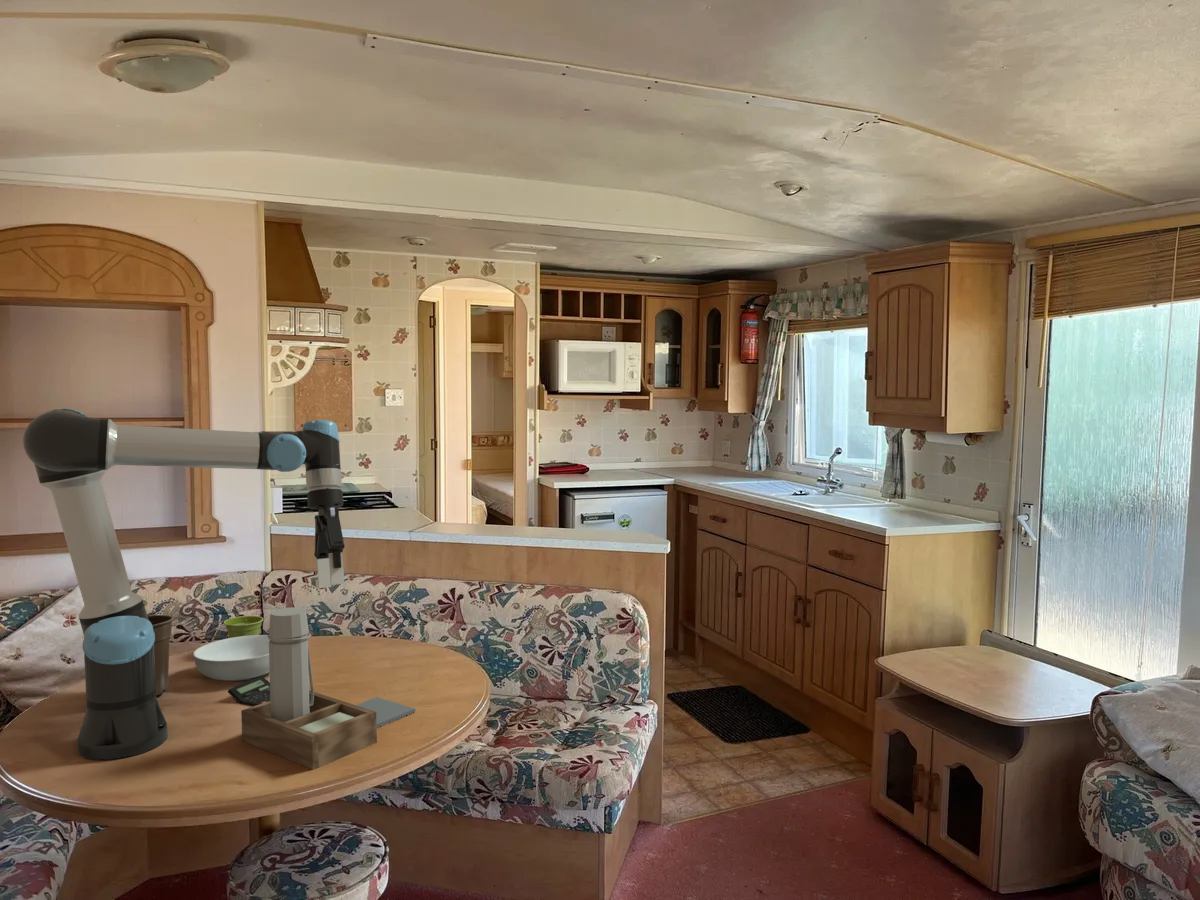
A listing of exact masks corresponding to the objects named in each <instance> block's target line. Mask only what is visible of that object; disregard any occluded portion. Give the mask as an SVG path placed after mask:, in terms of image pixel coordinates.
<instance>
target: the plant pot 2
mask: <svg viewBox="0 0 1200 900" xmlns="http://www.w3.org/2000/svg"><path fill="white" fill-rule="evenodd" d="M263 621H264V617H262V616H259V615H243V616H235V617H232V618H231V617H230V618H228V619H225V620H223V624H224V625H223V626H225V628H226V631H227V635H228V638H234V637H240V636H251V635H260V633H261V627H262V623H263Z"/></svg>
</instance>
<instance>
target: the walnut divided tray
mask: <svg viewBox="0 0 1200 900" xmlns="http://www.w3.org/2000/svg"><path fill="white" fill-rule="evenodd" d="M310 700H311V689H309V704H310ZM356 705H357V704H353V703H350V702H348V701H347V702H346V701H343V700H341V699H337V698H336V697H335V698H334V697H332V696H328V695H325V694H321V693H319V692H316V691H314V701H313V705H312V706H310V707H309V708H310V713H309V714H306V715H303V716H300V717H298V718H295V719H292V720H289V721H286V722H282V721H279V720H277V719H274V718H271V701H268V702H265V703H262V704H259V705H256V706H250V707H247V708H245V709H242V710H241V711H240V712H241V740H242V742H244V743H246V742H247V743H246V744H249V745H251V744H252V746H254V747H256V746H257V747H256V748H259V749H262V750H264V751H267V752H269V753H271V754H273V755H276V756H279V757H281V758H284V759H286V760H288V761H291V762H293V763H296V764H298V765H301V766H302V767H306V768H308V769H311V770H313V771H314V770H315V769H318V768H321V767H322V766H325V765H327V764H330V763H333V762H335V761H337V760H339V759H341V758H344V757H346V756H348V755H351V754H353V753H355V752H358V751H360V750H362V749H364V748H367V747H369V746H373V745H374V744H377V743H378V736H377V735H378V734H377V733H378V731H377V730H378V728H377V723H376V712H375V711H372V710H369V709H366V708H363V707H359V706H356ZM339 712H340V713H343V714H346V715H349V716H353V717H354V718H352V719H349V720H346V721H344V722H341V723H339V724H336V725H334V726H331V727H328V728H326V729H323V730H321V731H318V732H315V733H312V732H309V731H306V730H304V729H301V728H299V727H302V726H304V725H307V724H310V723H312V722H315V721H317V720H320V719H323V718H325V717H328V716H331V715H333V714H336V713H339Z"/></svg>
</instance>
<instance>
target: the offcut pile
mask: <svg viewBox="0 0 1200 900" xmlns="http://www.w3.org/2000/svg"><path fill="white" fill-rule="evenodd" d="M352 718H354V717H353V716H349V715H346V714H343V713H340V712H339V713H336V714H333V715H331V716H328V717H325V718H323V719H320V720H317V721H315V722H312V723H310V724H307V725H304V726H302V727H299V728H301V729H304V730H306V731H309V732H312V733H315V732H318V731H321V730H323V729H326V728H328V727H331V726H334V725H336V724H339V723H341V722H344V721H346V720H349V719H352Z"/></svg>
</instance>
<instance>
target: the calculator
mask: <svg viewBox="0 0 1200 900" xmlns="http://www.w3.org/2000/svg"><path fill="white" fill-rule="evenodd" d="M227 690H228V691H227V693H228V694H229V695H230V696H231V697H233V698H234V700H236V701H237V702H238V703H239V704H242V705H246V706H250V707H253V706H256V705H259V704H262V703H265V702H268V701H271V700H270V681H269V680H268V679H267V678H265V677H264V675H261V676H258V677H256V678H253V679H250V680H249V681H248V680H247V681H246V682H243V683H241V684H238V685H236V686H233V687H230V688H228V689H227Z"/></svg>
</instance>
